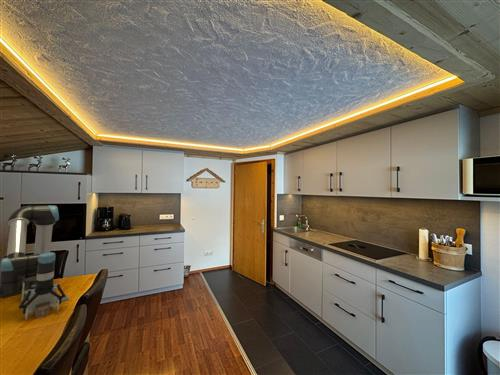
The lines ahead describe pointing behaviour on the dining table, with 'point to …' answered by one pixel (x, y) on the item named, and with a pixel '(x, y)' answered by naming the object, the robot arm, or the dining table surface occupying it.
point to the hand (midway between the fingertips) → (42, 313)
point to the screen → (41, 301)
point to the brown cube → (42, 309)
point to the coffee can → (28, 286)
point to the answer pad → (62, 299)
